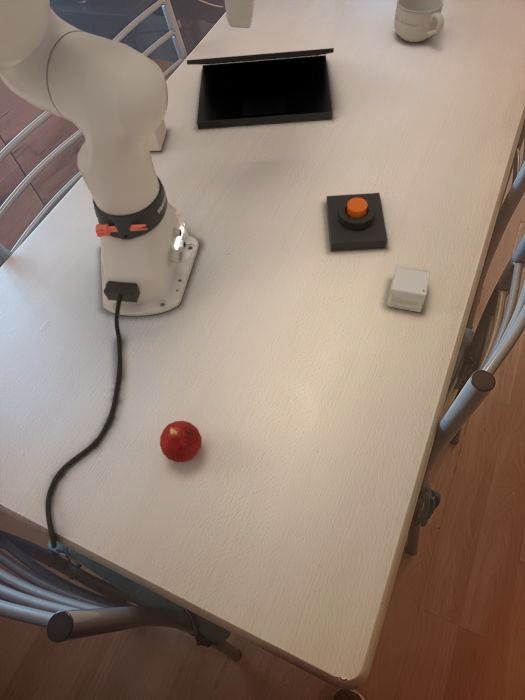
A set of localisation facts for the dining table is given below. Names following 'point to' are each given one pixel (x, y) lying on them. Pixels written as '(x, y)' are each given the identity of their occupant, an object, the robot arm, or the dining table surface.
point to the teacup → (418, 19)
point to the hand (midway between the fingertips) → (247, 20)
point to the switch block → (355, 224)
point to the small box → (408, 288)
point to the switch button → (357, 208)
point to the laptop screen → (261, 57)
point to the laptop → (264, 92)
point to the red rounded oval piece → (180, 441)
